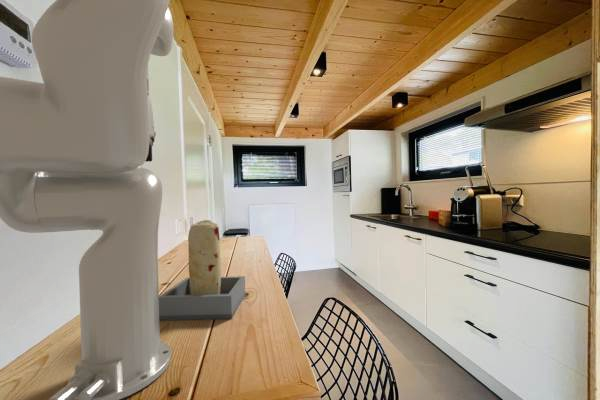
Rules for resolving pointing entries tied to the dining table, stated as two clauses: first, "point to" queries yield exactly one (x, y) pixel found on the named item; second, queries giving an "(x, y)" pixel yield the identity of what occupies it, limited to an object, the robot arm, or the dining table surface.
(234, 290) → the bin
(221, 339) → the dining table surface
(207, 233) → the food model
